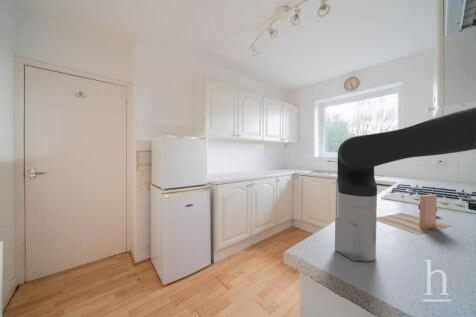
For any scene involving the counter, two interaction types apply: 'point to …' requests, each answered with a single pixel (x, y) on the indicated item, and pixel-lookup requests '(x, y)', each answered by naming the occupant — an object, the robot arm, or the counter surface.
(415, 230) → the board
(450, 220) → the counter surface
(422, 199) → the tile
